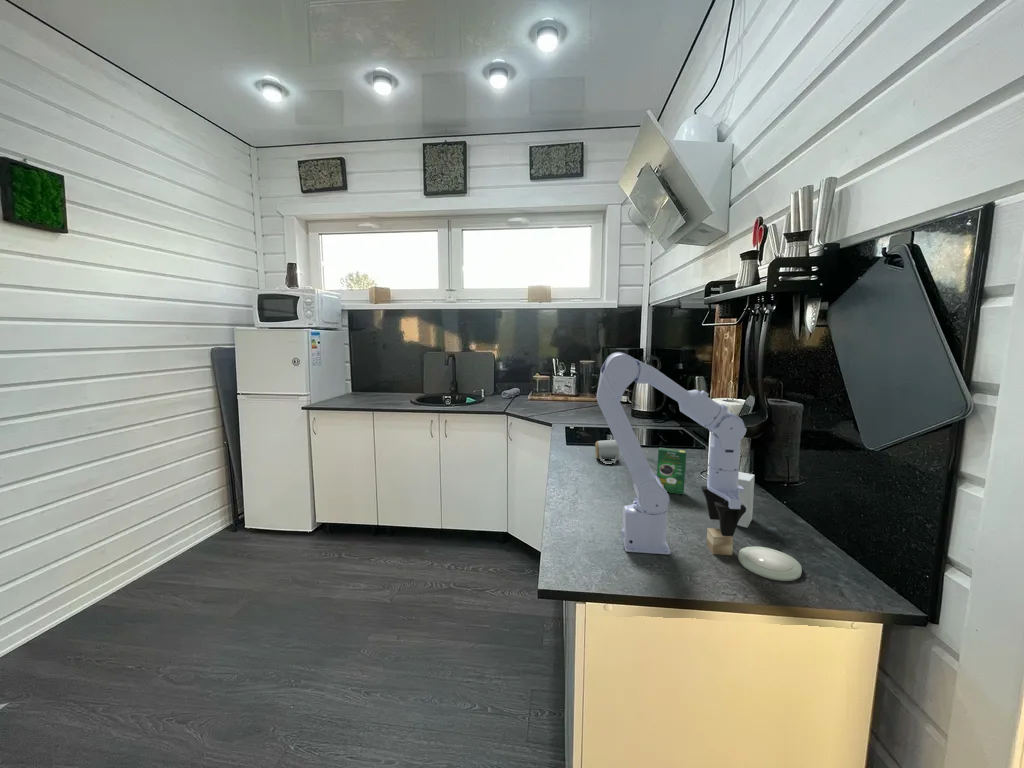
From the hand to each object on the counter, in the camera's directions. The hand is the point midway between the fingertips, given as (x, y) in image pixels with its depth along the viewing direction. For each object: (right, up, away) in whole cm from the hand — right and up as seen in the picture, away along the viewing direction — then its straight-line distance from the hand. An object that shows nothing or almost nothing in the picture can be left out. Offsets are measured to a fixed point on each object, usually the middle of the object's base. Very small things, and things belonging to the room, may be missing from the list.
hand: (720, 526), depth 90 cm
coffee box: (+2, -1, +34) cm, 34 cm away
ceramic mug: (-10, +2, +64) cm, 65 cm away
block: (0, -5, +1) cm, 5 cm away
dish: (+7, -6, -5) cm, 11 cm away
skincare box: (+12, -4, +14) cm, 19 cm away
